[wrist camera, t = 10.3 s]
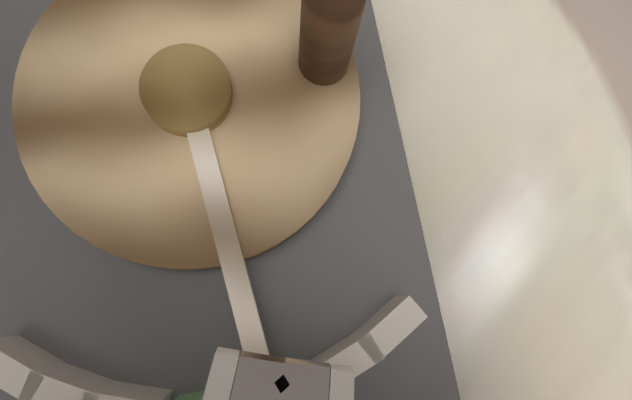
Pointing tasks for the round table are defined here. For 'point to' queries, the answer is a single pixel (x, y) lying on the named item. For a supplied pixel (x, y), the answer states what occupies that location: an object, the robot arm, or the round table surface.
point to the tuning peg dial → (189, 127)
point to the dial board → (209, 285)
